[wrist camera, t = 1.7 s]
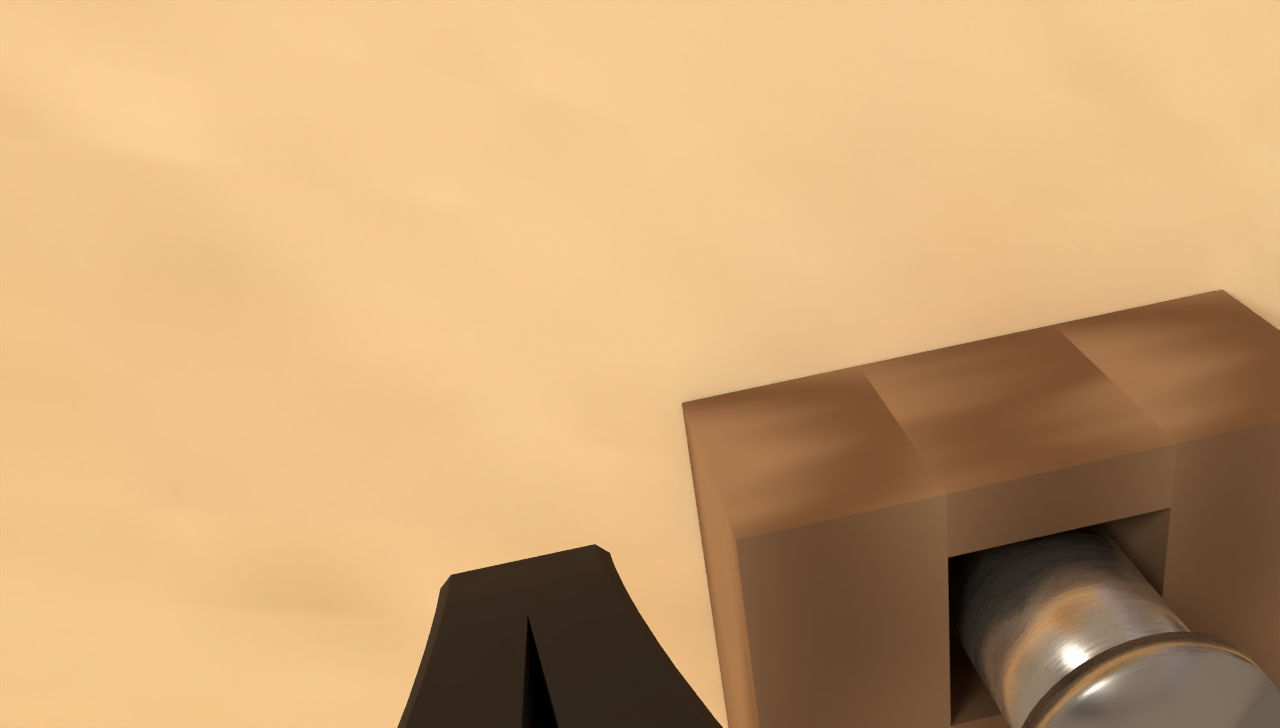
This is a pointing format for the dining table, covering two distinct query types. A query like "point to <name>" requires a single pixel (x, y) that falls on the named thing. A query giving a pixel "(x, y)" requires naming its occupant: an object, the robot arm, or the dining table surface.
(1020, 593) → the grey plug
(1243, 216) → the dining table surface
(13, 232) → the dining table surface
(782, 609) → the socket block
